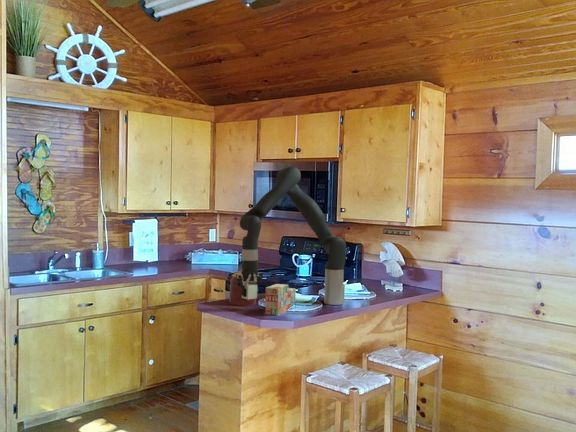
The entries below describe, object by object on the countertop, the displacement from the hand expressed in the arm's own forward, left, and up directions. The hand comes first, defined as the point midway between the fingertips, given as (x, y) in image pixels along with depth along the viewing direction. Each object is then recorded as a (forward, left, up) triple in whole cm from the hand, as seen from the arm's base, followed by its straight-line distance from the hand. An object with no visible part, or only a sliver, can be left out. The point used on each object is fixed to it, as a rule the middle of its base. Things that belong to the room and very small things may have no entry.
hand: (249, 295), depth 253 cm
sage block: (0, 0, -1) cm, 1 cm away
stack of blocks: (-12, +8, -7) cm, 16 cm away
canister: (-6, -13, -7) cm, 16 cm away
